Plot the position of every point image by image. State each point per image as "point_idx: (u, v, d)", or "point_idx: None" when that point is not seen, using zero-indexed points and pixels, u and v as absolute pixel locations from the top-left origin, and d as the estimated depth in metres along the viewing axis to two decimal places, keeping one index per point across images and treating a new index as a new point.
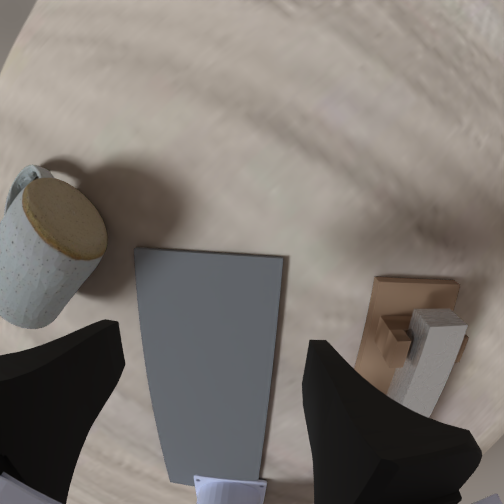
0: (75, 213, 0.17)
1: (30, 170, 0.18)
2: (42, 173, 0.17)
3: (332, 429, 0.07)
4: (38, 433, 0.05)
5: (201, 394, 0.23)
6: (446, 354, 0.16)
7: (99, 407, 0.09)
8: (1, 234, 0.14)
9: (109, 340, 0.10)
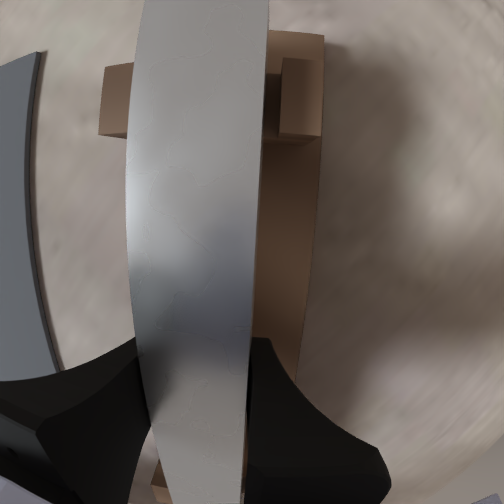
0: None
1: None
2: None
3: None
4: (102, 458, 0.05)
5: None
6: (219, 59, 0.06)
7: None
8: None
9: None
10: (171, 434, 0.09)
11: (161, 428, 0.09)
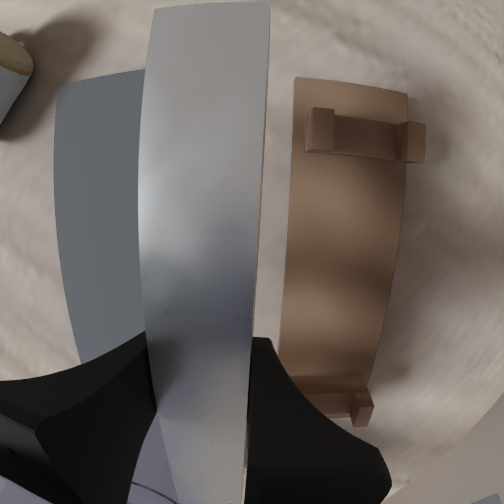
0: (11, 48, 0.13)
1: None
2: None
3: None
4: (102, 458, 0.05)
5: (107, 249, 0.20)
6: (224, 68, 0.06)
7: (151, 419, 0.09)
8: None
9: None
10: (176, 420, 0.09)
11: (167, 415, 0.09)
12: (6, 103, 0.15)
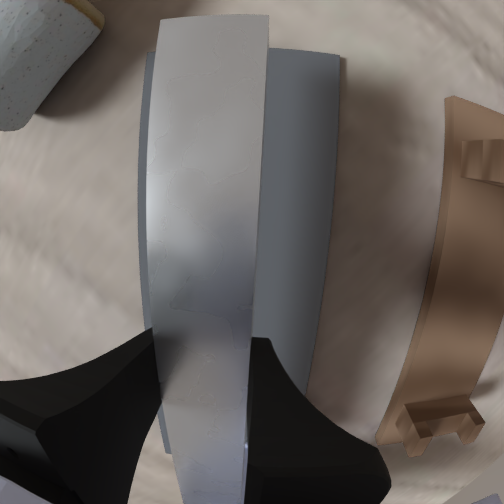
0: None
1: None
2: None
3: None
4: (102, 458, 0.05)
5: None
6: (227, 77, 0.07)
7: (151, 420, 0.09)
8: None
9: None
10: (180, 409, 0.10)
11: (171, 404, 0.10)
12: (65, 63, 0.11)
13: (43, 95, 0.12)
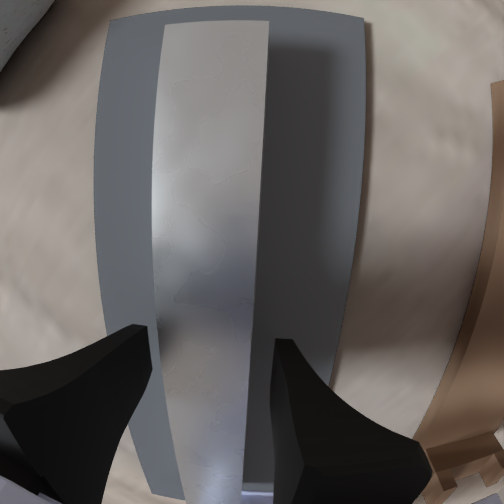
0: None
1: None
2: None
3: (284, 429, 0.07)
4: (74, 448, 0.05)
5: None
6: (229, 81, 0.07)
7: (129, 415, 0.09)
8: None
9: (139, 345, 0.10)
10: (182, 402, 0.10)
11: (173, 397, 0.10)
12: (7, 38, 0.07)
13: None
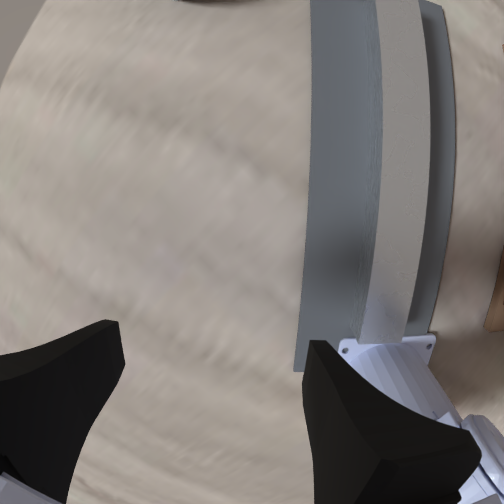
0: None
1: None
2: None
3: (332, 429, 0.07)
4: (38, 433, 0.05)
5: None
6: (408, 19, 0.12)
7: (99, 407, 0.09)
8: None
9: (109, 340, 0.10)
10: (391, 186, 0.15)
11: (386, 181, 0.15)
12: None
13: None
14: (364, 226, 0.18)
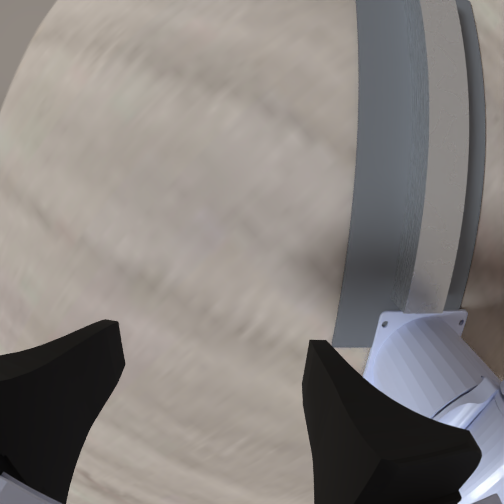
0: None
1: None
2: None
3: (332, 429, 0.07)
4: (38, 433, 0.05)
5: None
6: (446, 8, 0.12)
7: (99, 407, 0.09)
8: None
9: (109, 340, 0.10)
10: (437, 155, 0.14)
11: (433, 151, 0.14)
12: None
13: None
14: (407, 196, 0.17)
